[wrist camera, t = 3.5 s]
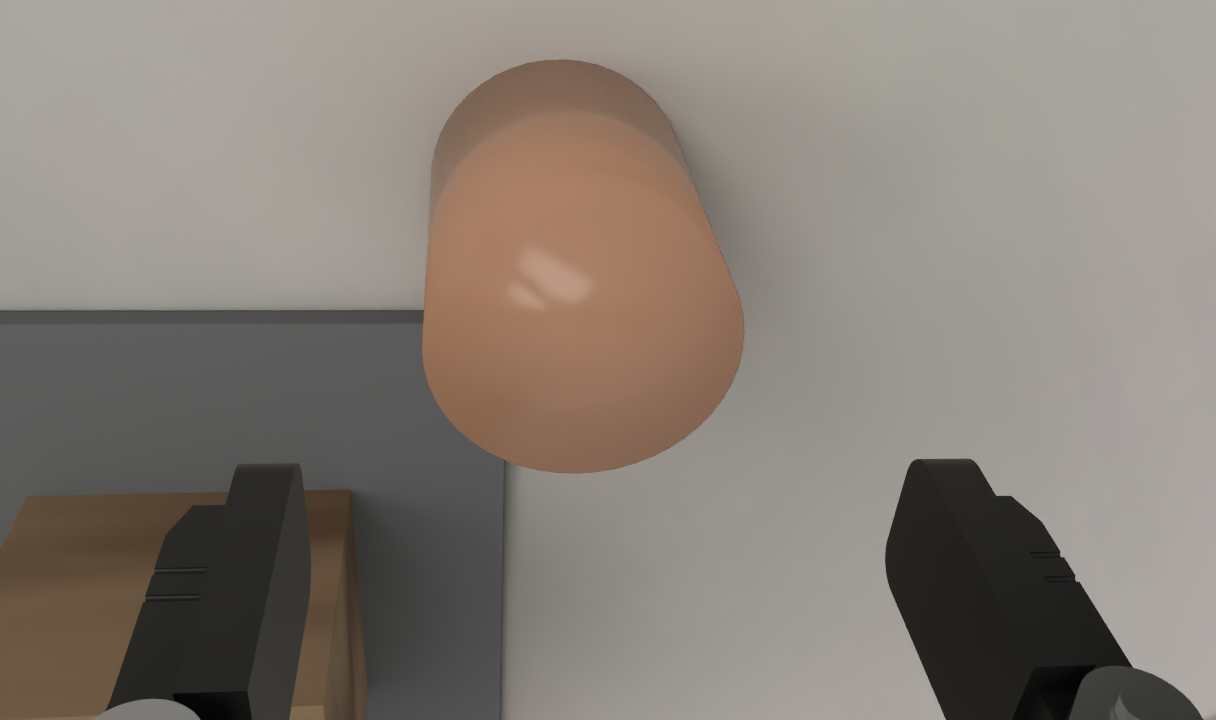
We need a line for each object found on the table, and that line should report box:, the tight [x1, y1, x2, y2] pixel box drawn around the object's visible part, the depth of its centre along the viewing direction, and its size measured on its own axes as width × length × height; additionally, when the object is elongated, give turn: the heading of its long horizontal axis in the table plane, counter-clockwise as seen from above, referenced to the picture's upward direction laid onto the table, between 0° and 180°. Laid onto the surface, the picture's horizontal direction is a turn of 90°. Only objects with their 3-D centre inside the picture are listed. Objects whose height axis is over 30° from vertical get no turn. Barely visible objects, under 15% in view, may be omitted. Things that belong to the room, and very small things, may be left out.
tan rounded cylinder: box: [422, 60, 744, 473], centre depth 19 cm, size 5×5×6 cm
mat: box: [0, 311, 504, 720], centre depth 27 cm, size 16×14×1 cm
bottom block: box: [0, 489, 368, 720], centre depth 24 cm, size 7×7×6 cm
